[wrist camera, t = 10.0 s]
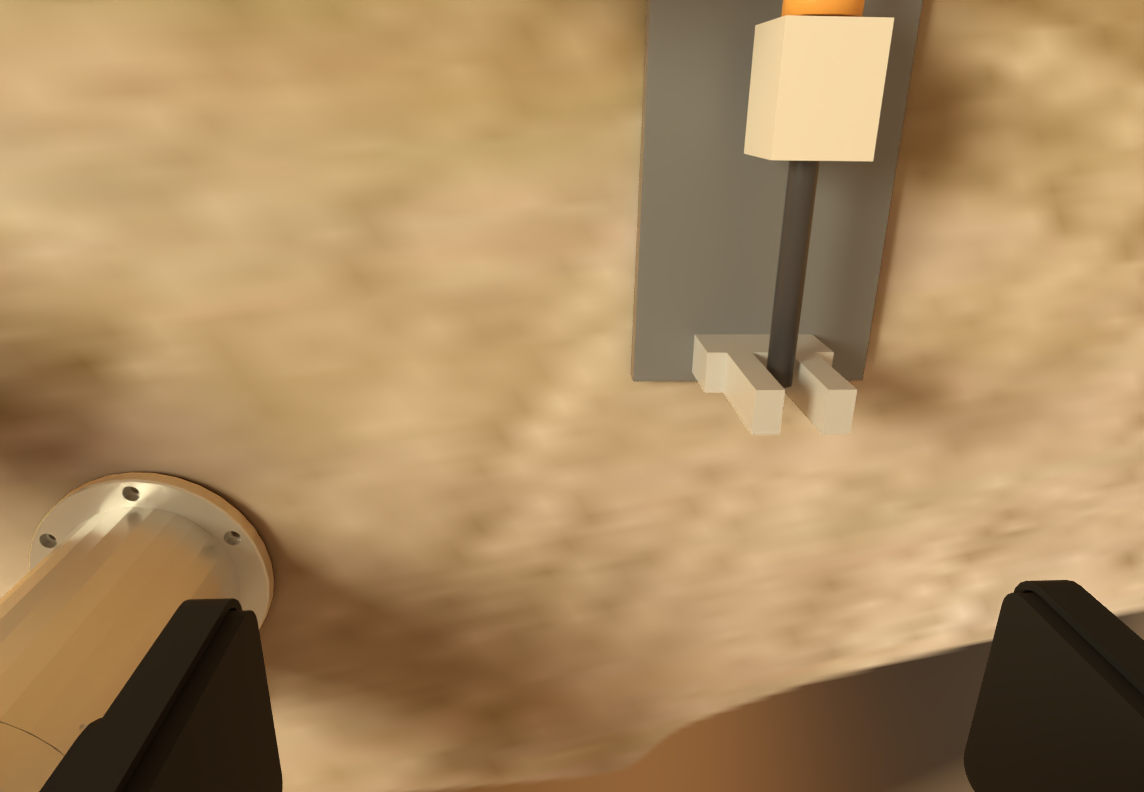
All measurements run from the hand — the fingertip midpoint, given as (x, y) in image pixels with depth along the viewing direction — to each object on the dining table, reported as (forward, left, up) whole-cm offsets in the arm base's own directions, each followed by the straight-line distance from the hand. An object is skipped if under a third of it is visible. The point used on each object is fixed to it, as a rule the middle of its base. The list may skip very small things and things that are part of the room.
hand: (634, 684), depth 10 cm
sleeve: (+7, -10, -27) cm, 29 cm away
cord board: (+6, -10, -30) cm, 32 cm away
